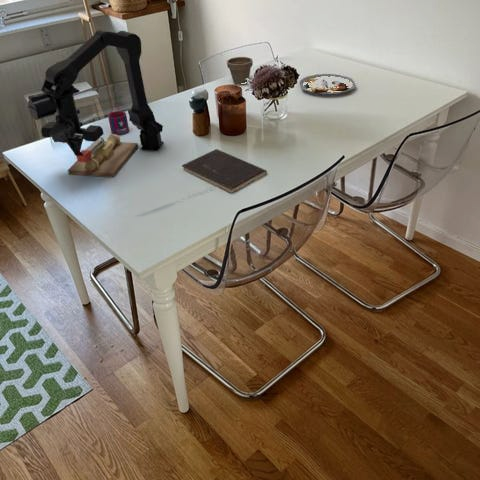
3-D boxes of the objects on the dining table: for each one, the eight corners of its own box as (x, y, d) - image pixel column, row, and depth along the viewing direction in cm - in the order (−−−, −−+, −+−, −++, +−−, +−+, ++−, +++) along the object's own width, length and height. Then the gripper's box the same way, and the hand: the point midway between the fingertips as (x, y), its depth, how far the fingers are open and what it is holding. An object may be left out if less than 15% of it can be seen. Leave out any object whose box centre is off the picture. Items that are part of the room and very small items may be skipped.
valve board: (138, 146, 184) (135, 130, 180) (113, 177, 167) (110, 160, 163) (97, 144, 187) (93, 128, 183) (68, 174, 170) (64, 157, 166)
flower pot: (226, 79, 236) (225, 57, 230) (251, 77, 237) (250, 55, 231) (229, 88, 227) (228, 65, 221) (254, 86, 228) (254, 63, 222)
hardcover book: (231, 195, 156) (230, 189, 154) (182, 171, 169) (181, 165, 168) (267, 175, 164) (266, 169, 163) (218, 154, 178) (217, 148, 177)
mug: (114, 136, 192) (111, 119, 188) (106, 127, 199) (102, 110, 195) (131, 132, 194) (128, 115, 190) (122, 123, 201) (119, 106, 197)
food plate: (359, 97, 212) (359, 88, 210) (302, 99, 213) (302, 91, 211) (349, 78, 233) (349, 70, 231) (297, 80, 234) (297, 72, 232)
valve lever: (99, 142, 175) (98, 136, 173) (106, 142, 174) (105, 136, 173) (77, 161, 164) (76, 155, 162) (85, 162, 163) (84, 156, 162)
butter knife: (219, 189, 158) (214, 184, 159) (138, 219, 147) (134, 214, 149) (219, 190, 158) (214, 186, 160) (139, 221, 147) (134, 216, 149)
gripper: (24, 118, 151) (38, 165, 161) (81, 122, 147) (92, 170, 157) (44, 103, 160) (57, 149, 169) (99, 107, 156) (108, 154, 165)
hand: (77, 156), depth 165 cm, fingers closed
